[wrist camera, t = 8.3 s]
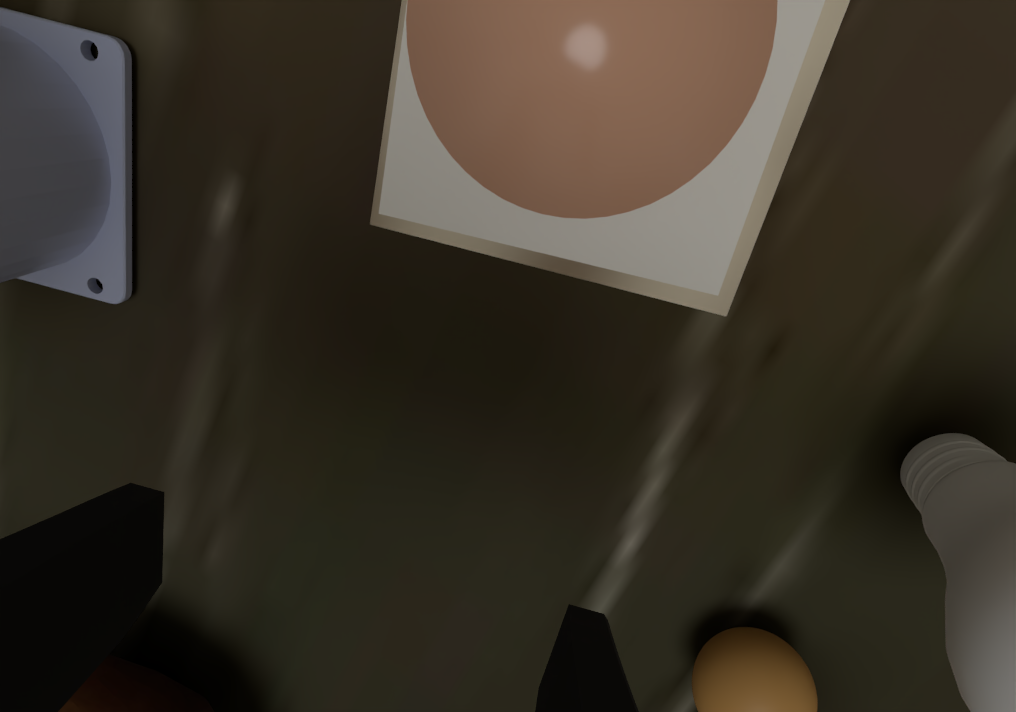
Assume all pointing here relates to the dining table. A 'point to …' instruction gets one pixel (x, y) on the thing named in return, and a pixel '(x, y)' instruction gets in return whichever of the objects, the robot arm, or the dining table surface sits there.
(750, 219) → the birch slab
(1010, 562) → the lightbulb
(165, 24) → the dining table surface
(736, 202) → the cream slab
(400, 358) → the dining table surface
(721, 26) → the terracotta cylinder
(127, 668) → the butternut squash
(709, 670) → the figurine
